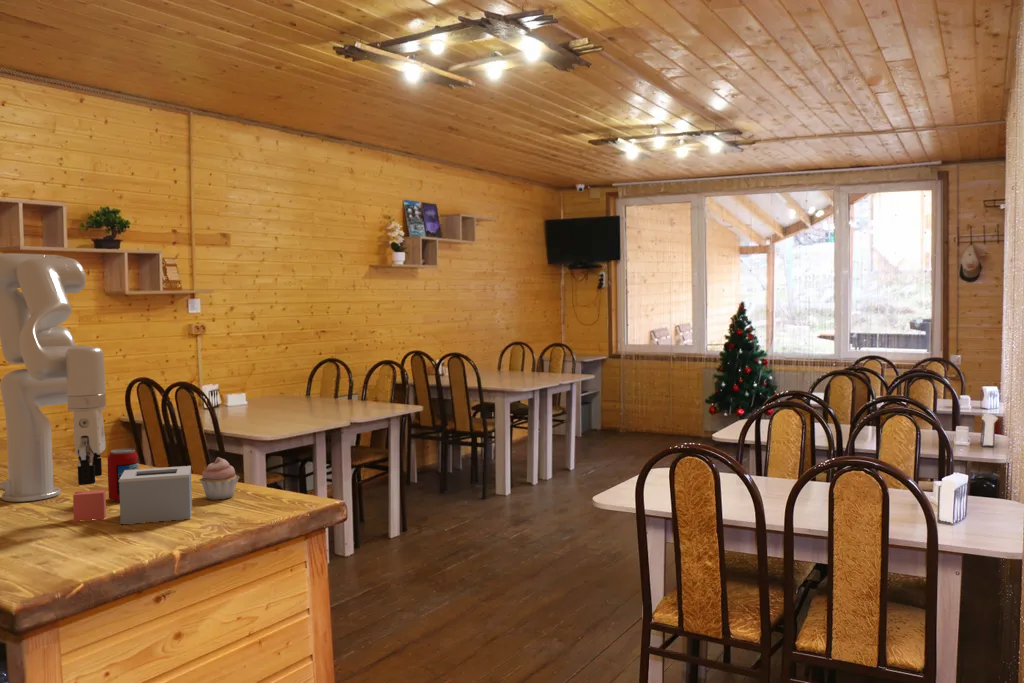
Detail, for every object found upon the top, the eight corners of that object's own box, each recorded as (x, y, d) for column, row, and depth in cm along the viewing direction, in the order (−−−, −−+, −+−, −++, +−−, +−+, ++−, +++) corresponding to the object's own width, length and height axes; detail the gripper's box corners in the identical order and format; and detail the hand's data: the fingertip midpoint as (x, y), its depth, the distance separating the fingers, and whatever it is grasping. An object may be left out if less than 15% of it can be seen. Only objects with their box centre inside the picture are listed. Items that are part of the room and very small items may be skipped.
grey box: (120, 525, 176) (119, 479, 175) (125, 513, 185) (124, 470, 185) (190, 519, 180) (189, 474, 180) (192, 508, 190) (190, 465, 189)
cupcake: (192, 497, 200) (191, 457, 200) (228, 490, 207) (227, 451, 206) (210, 504, 194) (209, 462, 193) (246, 496, 201) (246, 456, 200)
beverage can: (127, 503, 195) (125, 453, 194) (102, 501, 196) (100, 452, 195) (145, 496, 201) (143, 448, 201) (121, 495, 203) (119, 447, 202)
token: (73, 522, 179) (73, 495, 178) (76, 518, 182) (75, 492, 181) (104, 519, 181) (103, 492, 180) (106, 516, 184) (105, 489, 183)
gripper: (100, 405, 173) (103, 485, 173) (111, 398, 189) (114, 471, 190) (60, 407, 170) (64, 489, 171) (74, 400, 186) (78, 474, 187)
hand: (90, 480), depth 180 cm, fingers open, 9 cm apart
